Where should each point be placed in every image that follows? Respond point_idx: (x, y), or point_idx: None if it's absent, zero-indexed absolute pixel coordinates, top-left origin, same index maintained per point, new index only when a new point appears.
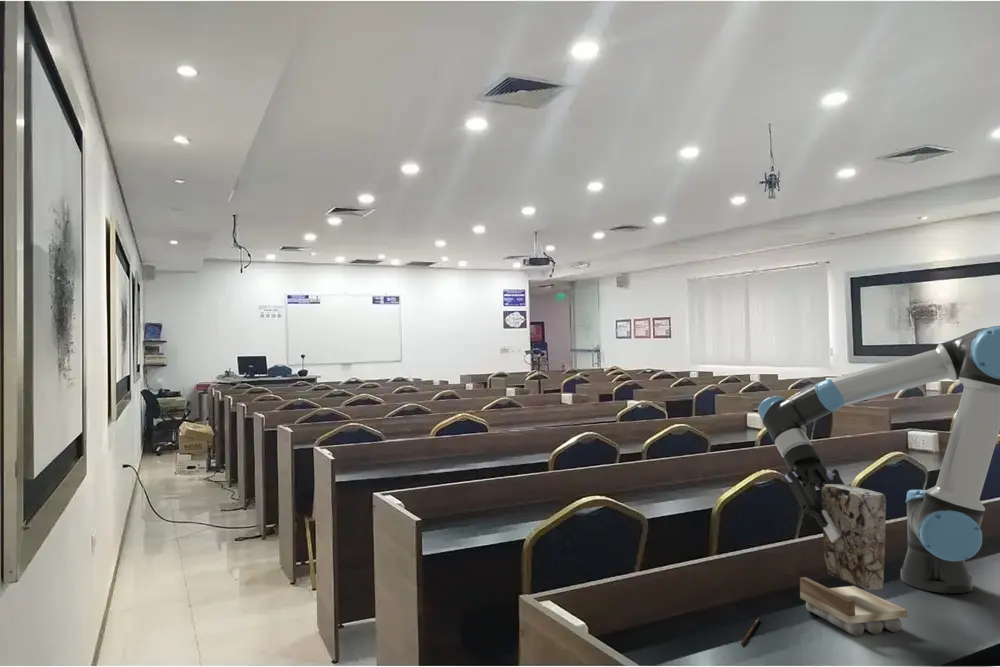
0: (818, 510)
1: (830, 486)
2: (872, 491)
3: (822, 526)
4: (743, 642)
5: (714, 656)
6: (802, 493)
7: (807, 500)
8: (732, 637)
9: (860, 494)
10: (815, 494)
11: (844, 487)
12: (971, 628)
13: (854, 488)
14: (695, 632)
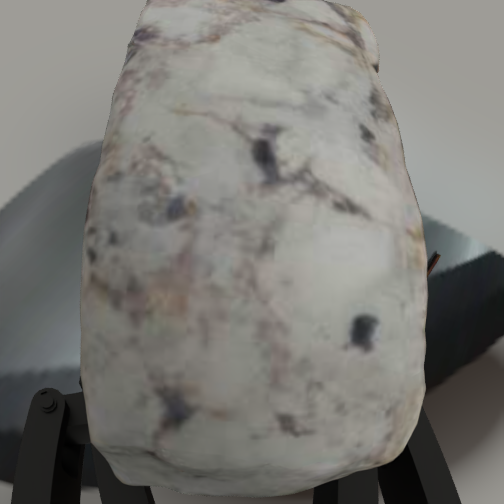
0: None
1: (423, 328)
2: (172, 9)
3: None
4: (437, 257)
5: (467, 240)
6: (444, 473)
7: (418, 431)
8: (437, 285)
9: (344, 6)
10: (354, 491)
11: (328, 193)
12: (40, 201)
13: (236, 117)
14: (465, 313)
